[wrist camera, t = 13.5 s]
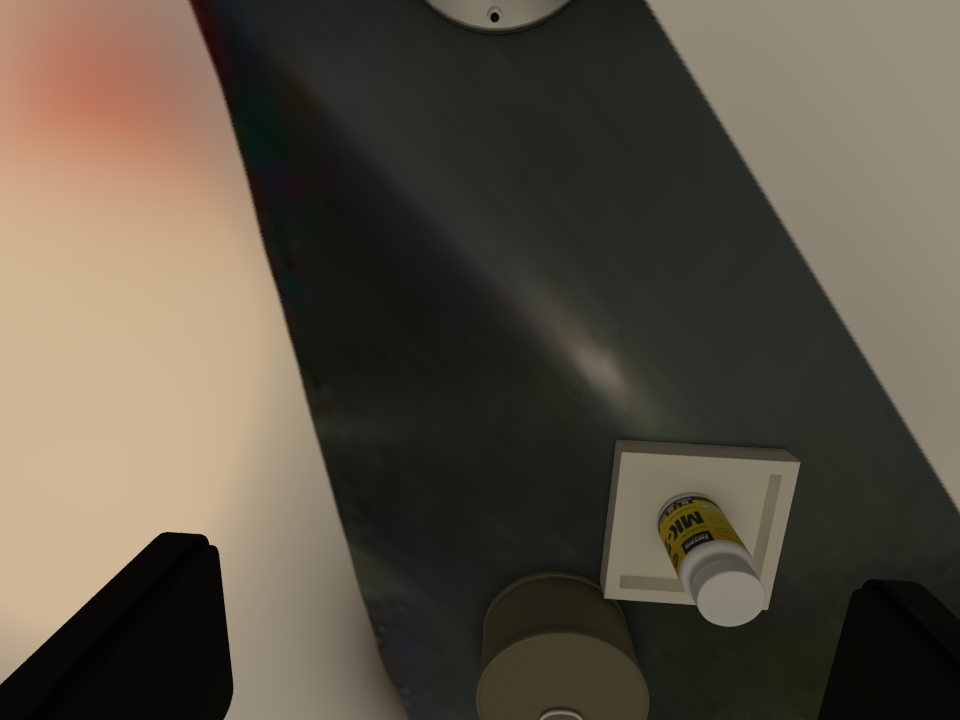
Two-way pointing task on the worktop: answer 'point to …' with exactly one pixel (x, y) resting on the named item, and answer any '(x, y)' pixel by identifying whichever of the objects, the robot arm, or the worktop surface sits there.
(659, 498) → the tray
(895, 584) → the robot arm
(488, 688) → the can
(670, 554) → the supplement bottle
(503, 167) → the worktop surface
